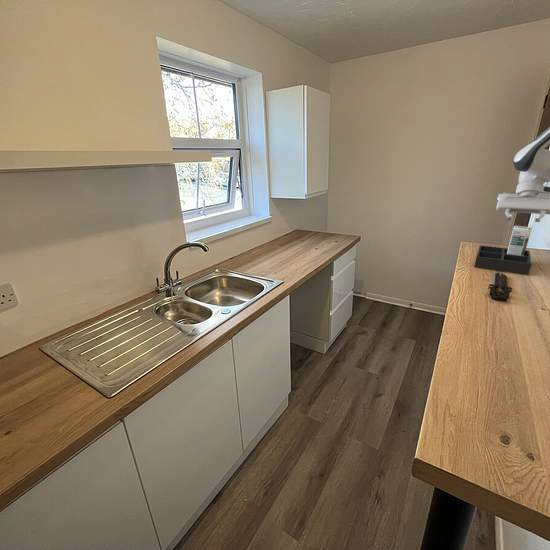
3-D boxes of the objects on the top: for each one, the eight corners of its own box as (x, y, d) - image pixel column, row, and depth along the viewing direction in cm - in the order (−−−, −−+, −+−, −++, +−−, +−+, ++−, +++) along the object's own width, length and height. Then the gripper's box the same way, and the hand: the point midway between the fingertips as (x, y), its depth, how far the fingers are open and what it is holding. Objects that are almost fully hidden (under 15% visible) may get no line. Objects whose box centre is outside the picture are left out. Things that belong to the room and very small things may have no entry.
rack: (526, 261, 126) (529, 250, 124) (528, 275, 113) (531, 263, 111) (477, 255, 135) (479, 245, 134) (474, 267, 123) (476, 256, 121)
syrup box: (504, 262, 124) (513, 227, 119) (505, 258, 129) (514, 224, 123) (521, 264, 121) (531, 229, 115) (522, 260, 125) (532, 226, 119)
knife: (494, 273, 116) (495, 270, 116) (515, 276, 112) (516, 273, 112) (484, 297, 99) (485, 294, 98) (508, 303, 95) (509, 299, 94)
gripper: (499, 187, 132) (493, 214, 128) (562, 189, 120) (557, 218, 117) (497, 196, 137) (491, 222, 133) (557, 198, 125) (552, 226, 122)
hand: (522, 220), depth 125 cm, fingers open, 8 cm apart
